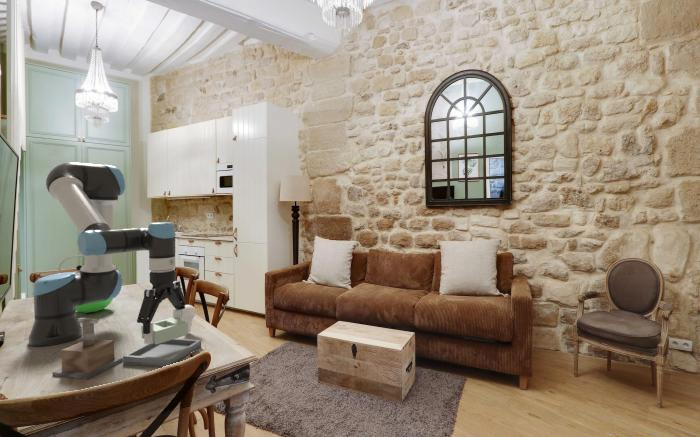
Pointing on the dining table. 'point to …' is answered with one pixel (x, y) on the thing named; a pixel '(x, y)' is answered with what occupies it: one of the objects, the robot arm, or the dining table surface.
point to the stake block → (87, 354)
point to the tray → (162, 353)
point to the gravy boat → (93, 306)
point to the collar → (168, 330)
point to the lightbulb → (188, 315)
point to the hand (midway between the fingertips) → (164, 335)
